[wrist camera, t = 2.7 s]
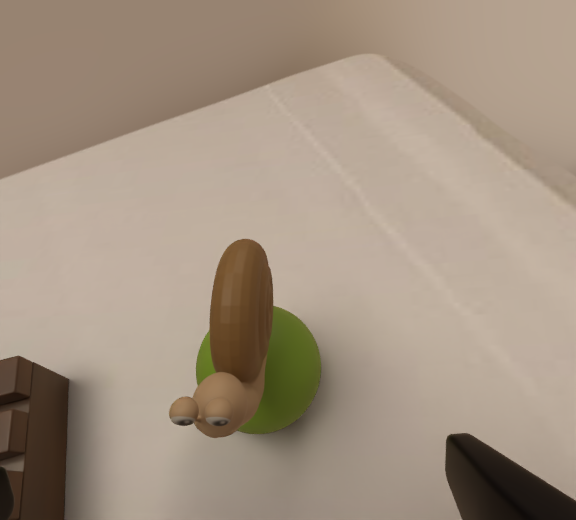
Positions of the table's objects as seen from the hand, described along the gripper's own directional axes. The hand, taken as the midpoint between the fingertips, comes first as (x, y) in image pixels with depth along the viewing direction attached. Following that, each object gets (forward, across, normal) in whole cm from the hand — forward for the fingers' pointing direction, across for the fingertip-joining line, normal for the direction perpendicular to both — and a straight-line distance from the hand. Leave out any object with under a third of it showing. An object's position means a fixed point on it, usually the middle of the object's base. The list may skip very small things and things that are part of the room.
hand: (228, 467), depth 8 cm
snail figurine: (+10, 0, +5) cm, 11 cm away
